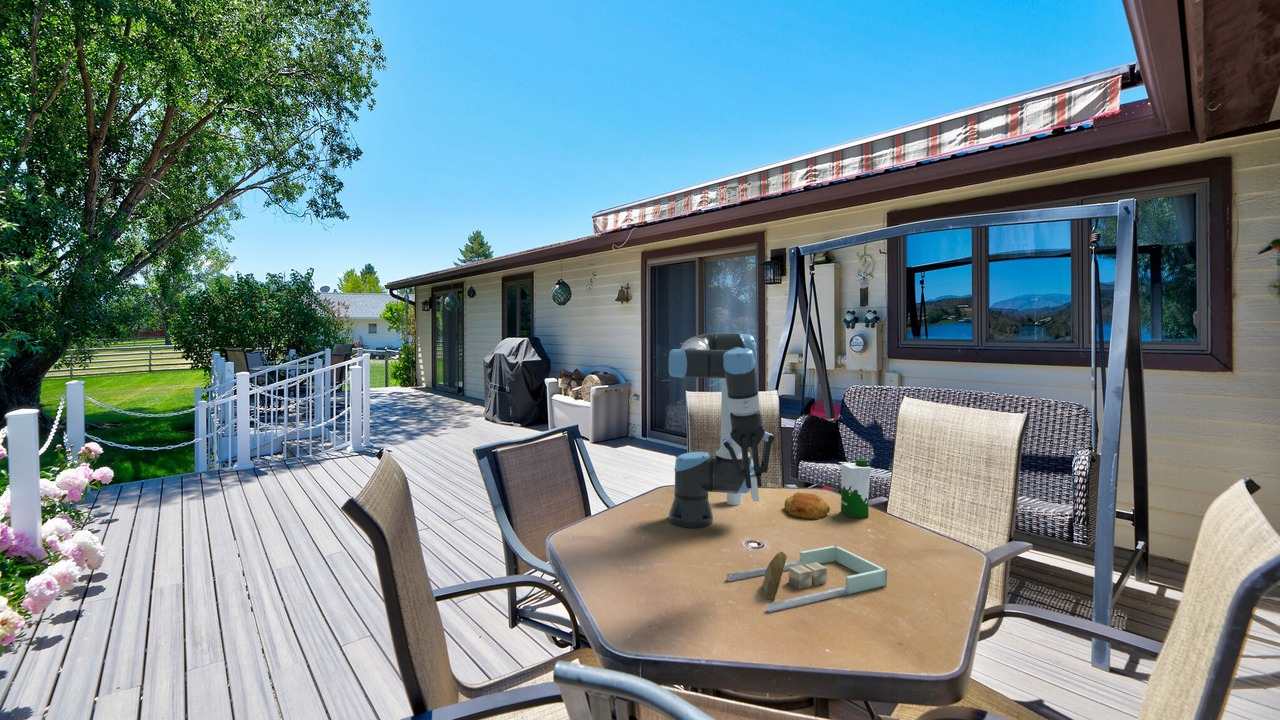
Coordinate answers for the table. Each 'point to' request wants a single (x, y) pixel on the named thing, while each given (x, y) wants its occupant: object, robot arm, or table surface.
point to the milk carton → (855, 489)
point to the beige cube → (817, 573)
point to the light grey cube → (800, 576)
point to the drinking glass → (734, 498)
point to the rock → (774, 575)
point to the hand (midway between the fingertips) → (755, 498)
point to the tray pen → (868, 571)
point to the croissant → (806, 506)
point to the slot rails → (793, 601)
